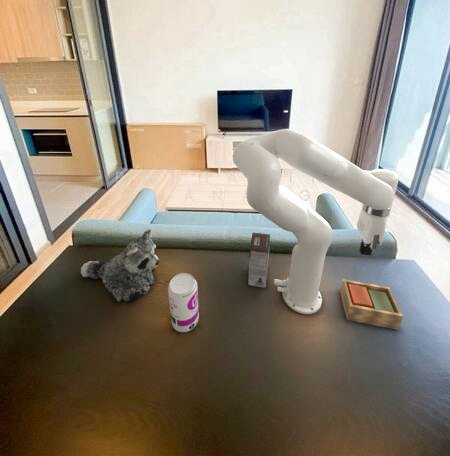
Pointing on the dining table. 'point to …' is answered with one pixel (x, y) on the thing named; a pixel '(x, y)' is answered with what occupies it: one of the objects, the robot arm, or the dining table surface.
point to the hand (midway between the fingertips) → (364, 253)
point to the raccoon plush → (127, 269)
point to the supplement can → (183, 302)
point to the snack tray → (370, 304)
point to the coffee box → (258, 259)
